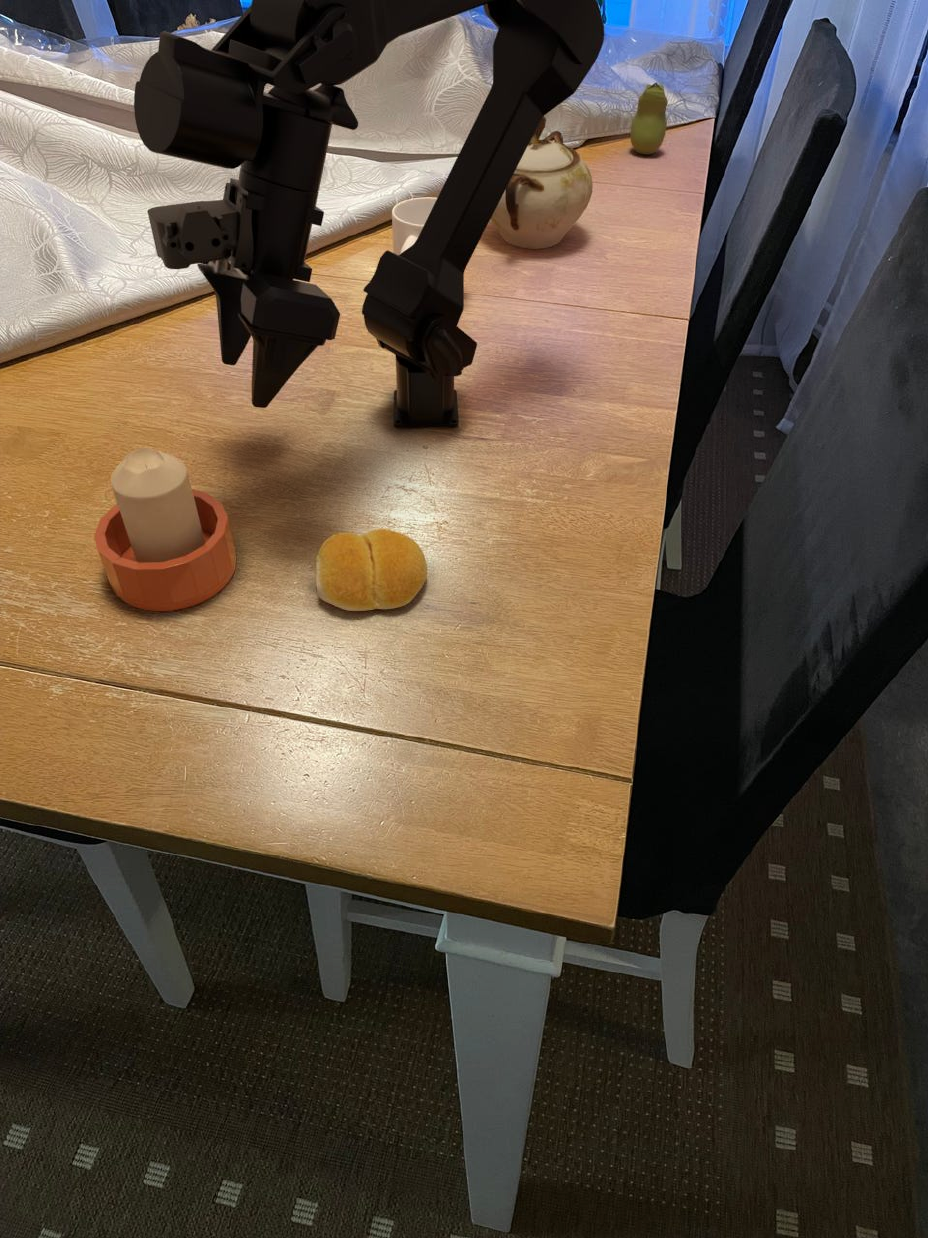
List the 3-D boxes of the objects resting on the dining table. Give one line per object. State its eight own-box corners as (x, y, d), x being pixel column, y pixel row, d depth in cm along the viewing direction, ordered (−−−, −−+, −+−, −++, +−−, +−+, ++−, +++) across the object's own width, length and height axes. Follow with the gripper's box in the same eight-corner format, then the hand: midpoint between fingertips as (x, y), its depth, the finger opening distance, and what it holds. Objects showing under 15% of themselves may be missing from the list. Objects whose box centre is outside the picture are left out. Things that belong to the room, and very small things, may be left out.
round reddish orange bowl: (227, 610, 69) (216, 568, 65) (97, 612, 68) (80, 570, 65) (243, 528, 76) (234, 486, 72) (125, 529, 75) (111, 487, 72)
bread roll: (433, 610, 69) (433, 573, 66) (318, 621, 68) (313, 584, 65) (420, 541, 75) (419, 504, 72) (314, 551, 74) (309, 514, 71)
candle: (219, 564, 71) (195, 463, 64) (155, 592, 69) (122, 490, 62) (190, 529, 74) (163, 428, 67) (127, 555, 72) (93, 453, 65)
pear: (662, 149, 145) (674, 80, 138) (661, 160, 141) (673, 90, 134) (628, 146, 146) (638, 77, 138) (626, 157, 142) (636, 87, 135)
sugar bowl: (560, 276, 111) (573, 148, 100) (452, 254, 115) (453, 128, 104) (604, 219, 124) (619, 101, 113) (505, 201, 128) (511, 85, 117)
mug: (433, 334, 100) (433, 244, 92) (369, 319, 102) (363, 230, 95) (473, 291, 108) (476, 204, 100) (412, 278, 110) (410, 192, 102)
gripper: (140, 126, 66) (119, 329, 74) (198, 178, 53) (164, 419, 61) (282, 165, 72) (248, 350, 80) (364, 221, 59) (315, 436, 67)
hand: (242, 384), depth 71 cm, fingers open, 9 cm apart
